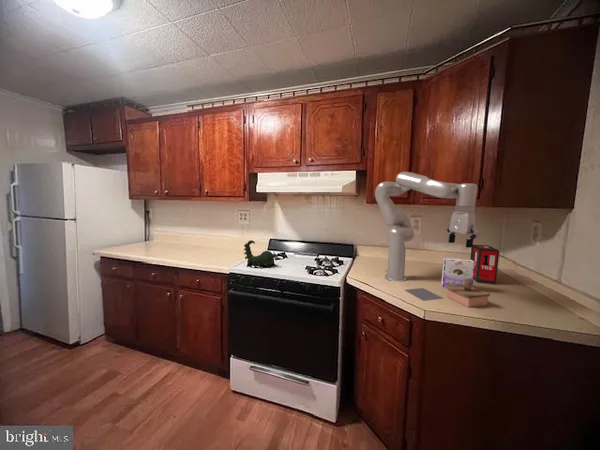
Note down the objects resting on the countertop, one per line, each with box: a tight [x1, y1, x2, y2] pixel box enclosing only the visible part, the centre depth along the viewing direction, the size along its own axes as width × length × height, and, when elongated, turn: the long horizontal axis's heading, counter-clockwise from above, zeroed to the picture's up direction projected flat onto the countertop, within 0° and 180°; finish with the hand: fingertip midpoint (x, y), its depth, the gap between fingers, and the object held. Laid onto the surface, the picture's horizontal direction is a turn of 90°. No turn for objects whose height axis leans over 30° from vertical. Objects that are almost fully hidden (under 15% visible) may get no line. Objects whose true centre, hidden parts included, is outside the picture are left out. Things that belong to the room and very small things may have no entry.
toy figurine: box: [243, 240, 277, 268], centre depth 170 cm, size 9×19×25 cm
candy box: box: [440, 256, 475, 288], centre depth 131 cm, size 14×6×16 cm, turn 66°
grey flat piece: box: [404, 287, 445, 302], centre depth 122 cm, size 14×12×1 cm
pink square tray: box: [447, 289, 489, 308], centre depth 114 cm, size 11×11×5 cm
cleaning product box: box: [469, 244, 500, 285], centre depth 147 cm, size 16×9×20 cm, turn 159°
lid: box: [445, 279, 491, 298], centre depth 113 cm, size 12×12×6 cm
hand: (459, 244), depth 117 cm, fingers open, 9 cm apart
